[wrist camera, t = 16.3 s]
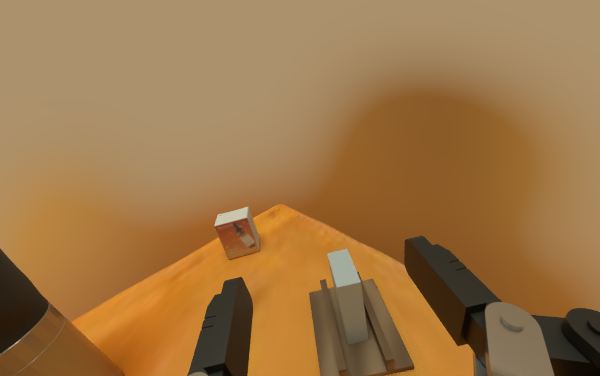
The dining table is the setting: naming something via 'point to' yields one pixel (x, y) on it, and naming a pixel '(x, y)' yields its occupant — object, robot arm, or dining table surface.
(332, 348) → the rack
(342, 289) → the grey rectangular block
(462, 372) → the dining table surface
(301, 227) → the dining table surface
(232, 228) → the small box
